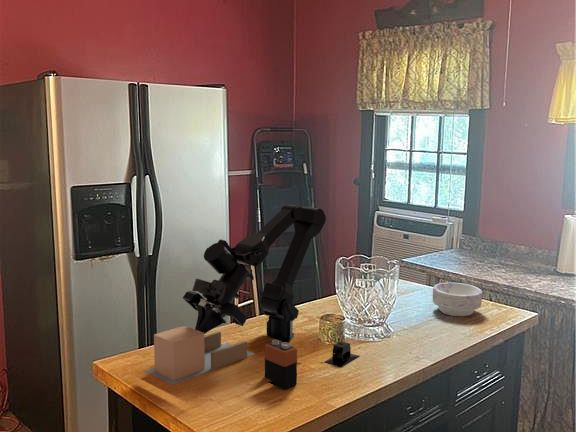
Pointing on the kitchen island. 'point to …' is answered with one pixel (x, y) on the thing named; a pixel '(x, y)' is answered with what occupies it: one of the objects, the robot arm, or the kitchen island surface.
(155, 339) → the block
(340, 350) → the black rectangular piece
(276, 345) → the battery
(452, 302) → the white marble bowl
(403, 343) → the kitchen island surface
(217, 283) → the robot arm
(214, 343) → the chute
